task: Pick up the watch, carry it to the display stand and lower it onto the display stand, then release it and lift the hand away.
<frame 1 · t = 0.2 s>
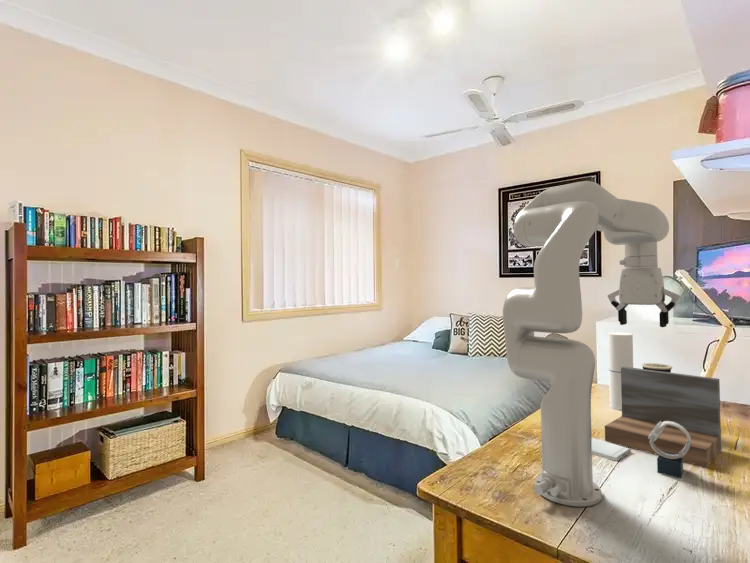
hand: (642, 325, 115), 31 cm above the table, tool pointing down, fingers open, 9 cm apart
hard drive: (597, 451, 108), on the table
watch: (669, 471, 95), on the table
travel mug: (658, 427, 122), on the table
display stand: (661, 445, 109), on the table
cylindrical container: (622, 408, 141), on the table
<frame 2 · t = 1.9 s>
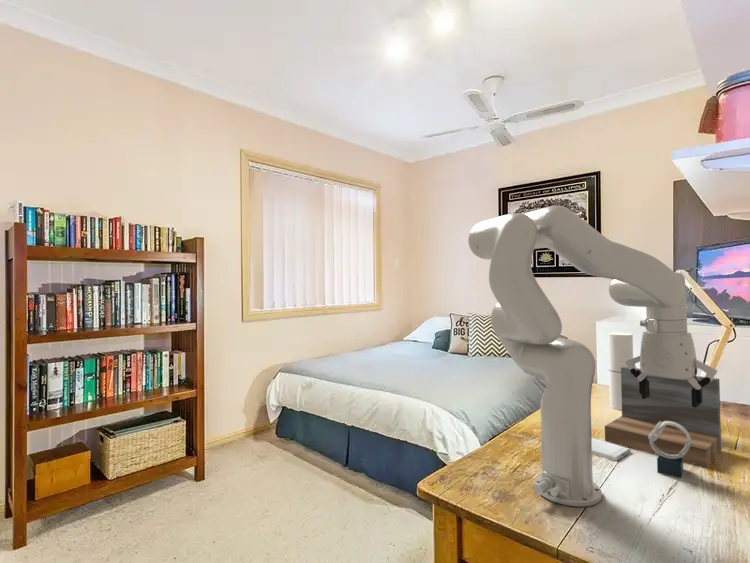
hand: (669, 401, 95), 16 cm above the table, tool pointing down, fingers open, 9 cm apart
nothing on the table moved.
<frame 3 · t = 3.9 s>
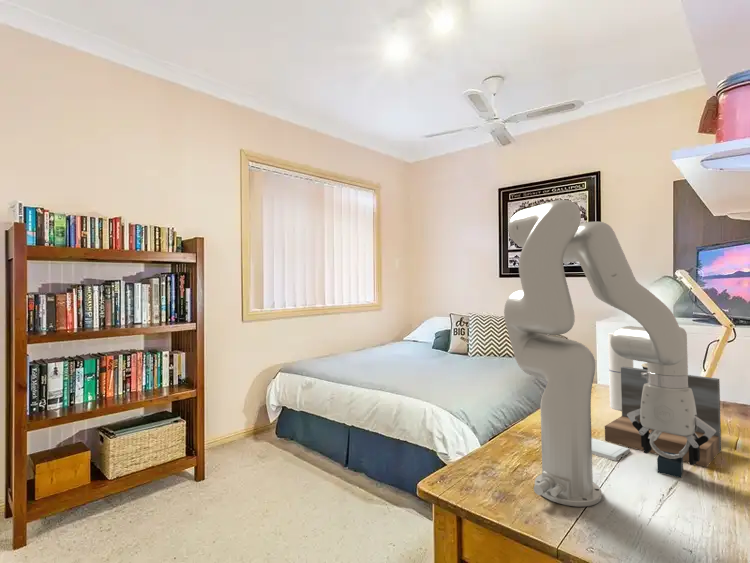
hand: (669, 456, 95), 3 cm above the table, tool pointing down, fingers closed on watch, 8 cm apart
watch: (670, 471, 95), on the table, touching gripper
everything else where it was.
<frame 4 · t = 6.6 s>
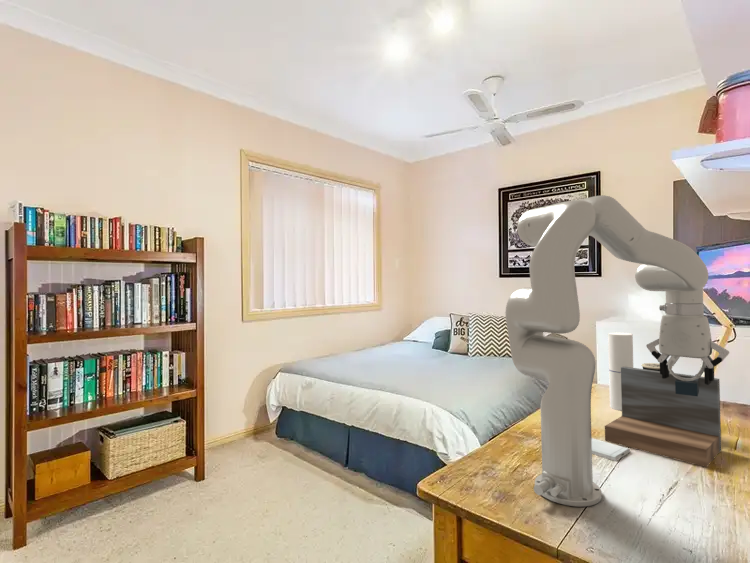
hand: (686, 380, 104), 18 cm above the table, tool pointing down, fingers closed on watch, 8 cm apart
watch: (686, 393, 104), point 15 cm above the table, touching gripper
everything else where it was.
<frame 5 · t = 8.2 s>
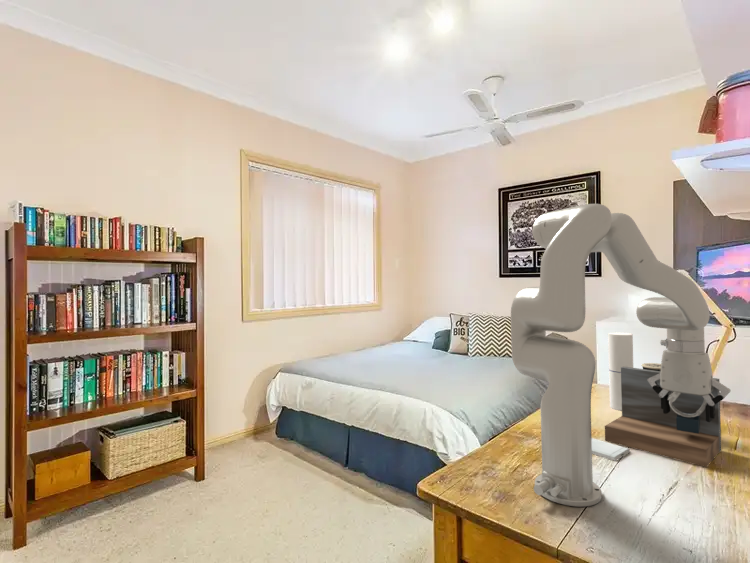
hand: (687, 416, 104), 9 cm above the table, tool pointing down, fingers closed on watch, 8 cm apart
watch: (687, 429, 104), point 6 cm above the table, touching gripper
everything else where it was.
when the fingers open (8 cm above the table, at t = 9.4 s): watch drops 1 cm, resting on display stand.
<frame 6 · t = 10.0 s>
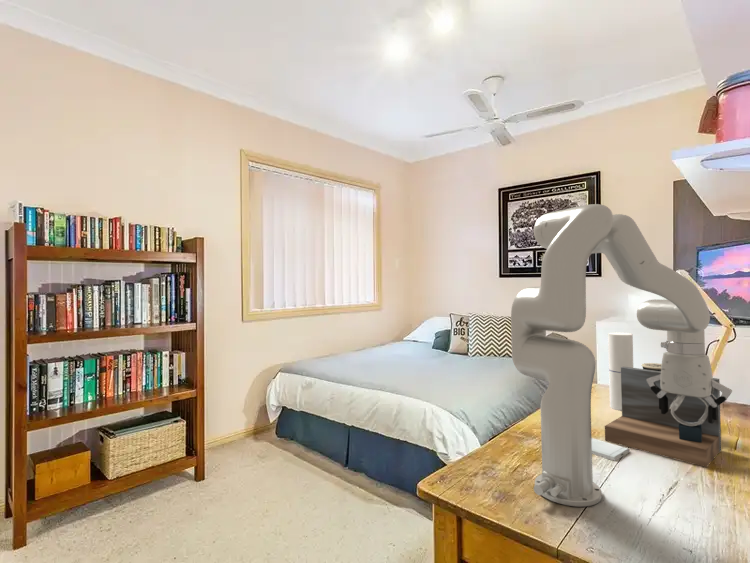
hand: (687, 417, 104), 9 cm above the table, tool pointing down, fingers open, 9 cm apart
watch: (690, 438, 103), point 4 cm above the table, touching gripper, display stand
everything else where it was.
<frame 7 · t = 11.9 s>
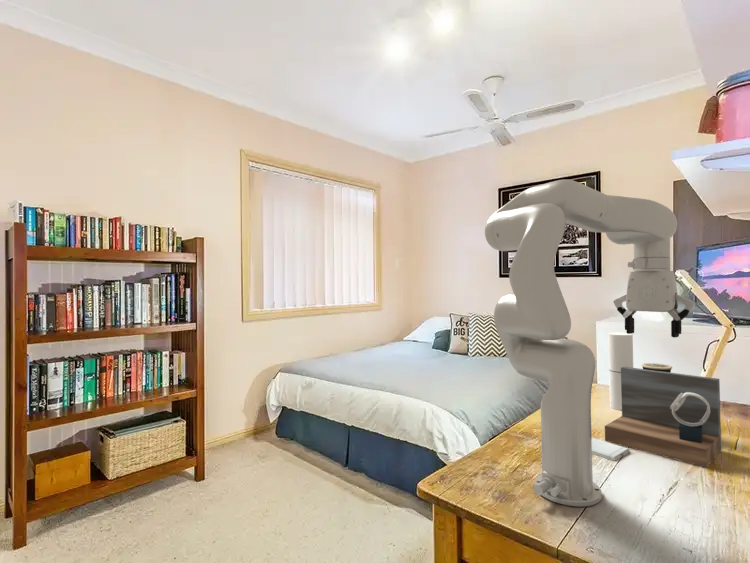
hand: (652, 335, 103), 30 cm above the table, tool pointing down, fingers open, 9 cm apart
watch: (690, 438, 103), point 4 cm above the table, touching display stand
everything else where it was.
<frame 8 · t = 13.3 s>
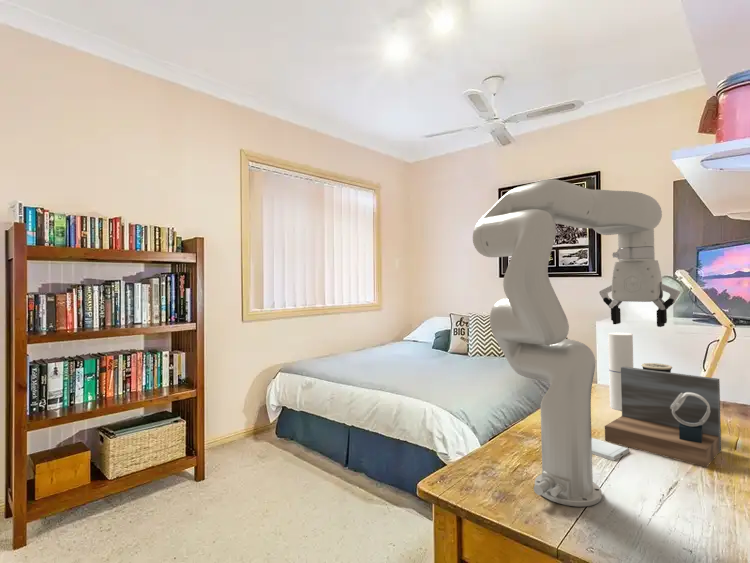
hand: (638, 325, 103), 32 cm above the table, tool pointing down, fingers open, 9 cm apart
nothing on the table moved.
at the end: watch tilted 0°; the gripper is holding nothing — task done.
